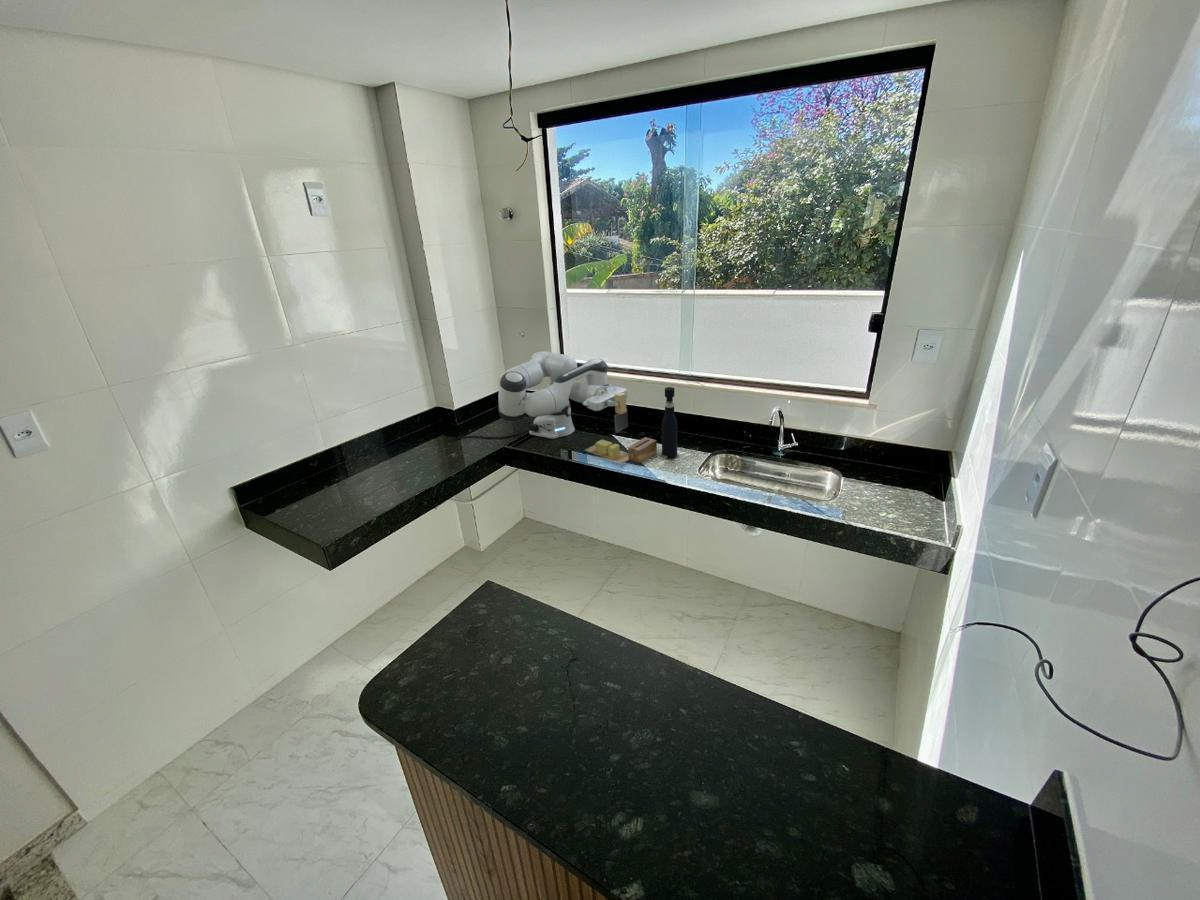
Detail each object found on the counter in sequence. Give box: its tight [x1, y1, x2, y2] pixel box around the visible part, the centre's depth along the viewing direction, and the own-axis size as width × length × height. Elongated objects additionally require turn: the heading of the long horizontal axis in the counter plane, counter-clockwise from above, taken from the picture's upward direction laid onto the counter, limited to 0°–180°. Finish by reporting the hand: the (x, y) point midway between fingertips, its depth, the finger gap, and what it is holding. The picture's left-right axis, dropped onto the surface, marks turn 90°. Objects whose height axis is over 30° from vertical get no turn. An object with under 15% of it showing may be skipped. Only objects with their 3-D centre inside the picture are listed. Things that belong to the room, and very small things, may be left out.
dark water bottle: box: [661, 386, 678, 460], centre depth 200 cm, size 6×6×30 cm
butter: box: [594, 439, 613, 454], centre depth 212 cm, size 6×4×4 cm
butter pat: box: [608, 443, 621, 457], centre depth 208 cm, size 2×4×4 cm, turn 138°
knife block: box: [627, 436, 658, 464], centre depth 205 cm, size 6×12×7 cm, turn 138°
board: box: [584, 444, 630, 464], centre depth 211 cm, size 22×9×1 cm, turn 48°
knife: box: [614, 392, 629, 434], centre depth 200 cm, size 3×8×16 cm, turn 138°
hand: (622, 402), depth 198 cm, fingers closed on knife, 3 cm apart
